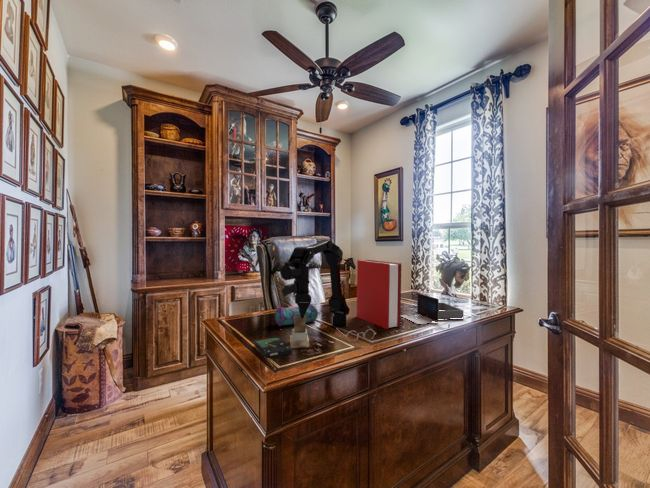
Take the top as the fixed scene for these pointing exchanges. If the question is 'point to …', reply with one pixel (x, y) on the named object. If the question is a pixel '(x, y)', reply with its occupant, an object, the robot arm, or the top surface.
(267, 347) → the disk drive
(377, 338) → the top surface
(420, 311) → the laptop
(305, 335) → the tower top
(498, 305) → the top surface
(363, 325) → the eyeglasses
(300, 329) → the walnut block
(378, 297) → the book
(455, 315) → the charger caddy
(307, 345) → the tower base
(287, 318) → the pencil case
